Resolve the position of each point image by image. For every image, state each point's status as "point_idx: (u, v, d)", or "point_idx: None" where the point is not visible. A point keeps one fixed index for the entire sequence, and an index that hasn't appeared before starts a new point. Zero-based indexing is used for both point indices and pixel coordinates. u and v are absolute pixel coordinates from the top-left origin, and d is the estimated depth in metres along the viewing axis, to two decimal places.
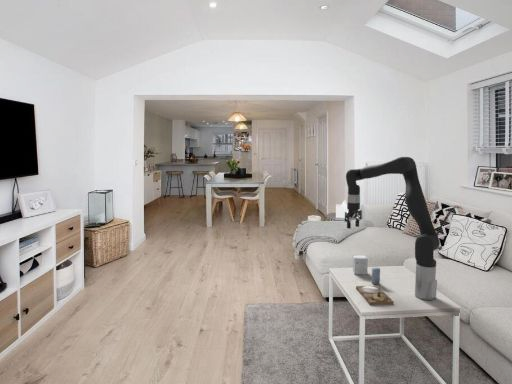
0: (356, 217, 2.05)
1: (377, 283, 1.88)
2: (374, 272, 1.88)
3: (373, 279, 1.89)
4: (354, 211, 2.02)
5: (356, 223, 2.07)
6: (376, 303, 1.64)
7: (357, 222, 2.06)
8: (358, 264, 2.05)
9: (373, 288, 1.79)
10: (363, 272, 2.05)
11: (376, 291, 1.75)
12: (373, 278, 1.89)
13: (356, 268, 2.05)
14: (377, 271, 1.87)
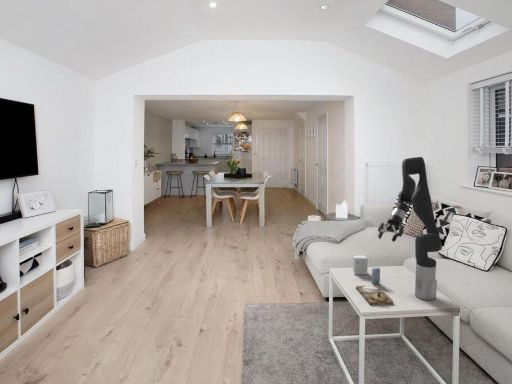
0: (394, 231, 1.93)
1: (377, 283, 1.88)
2: (374, 272, 1.88)
3: (373, 279, 1.89)
4: (391, 224, 1.97)
5: None
6: (376, 303, 1.64)
7: None
8: (358, 264, 2.05)
9: (373, 288, 1.79)
10: (363, 272, 2.05)
11: (376, 291, 1.75)
12: (373, 278, 1.89)
13: (356, 268, 2.05)
14: (377, 271, 1.87)
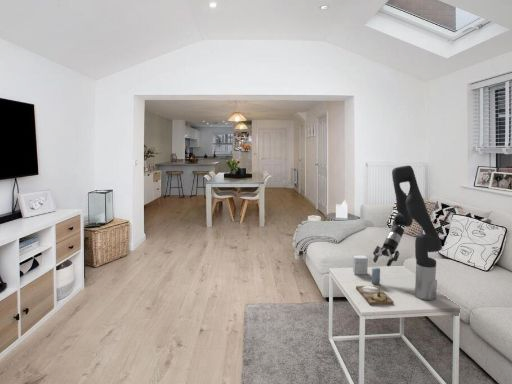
0: (389, 255, 1.92)
1: (377, 283, 1.88)
2: (374, 272, 1.88)
3: (373, 279, 1.89)
4: (386, 248, 1.96)
5: None
6: (376, 303, 1.64)
7: None
8: (358, 264, 2.05)
9: (373, 288, 1.79)
10: (363, 272, 2.05)
11: (376, 291, 1.75)
12: (373, 278, 1.89)
13: (356, 268, 2.05)
14: (377, 271, 1.87)
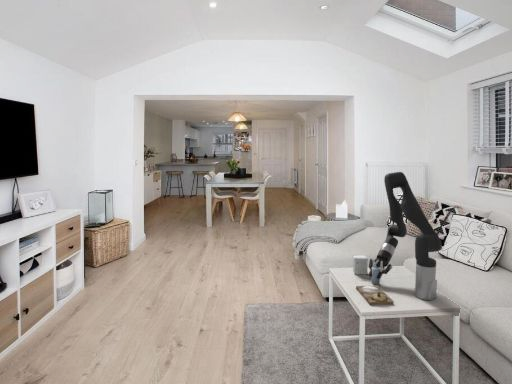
0: None
1: (377, 283, 1.88)
2: (374, 272, 1.88)
3: (373, 279, 1.89)
4: (380, 259, 1.93)
5: None
6: (376, 303, 1.64)
7: None
8: (358, 264, 2.05)
9: (373, 288, 1.79)
10: (363, 272, 2.05)
11: (376, 291, 1.75)
12: (373, 278, 1.89)
13: (356, 268, 2.05)
14: (377, 271, 1.87)
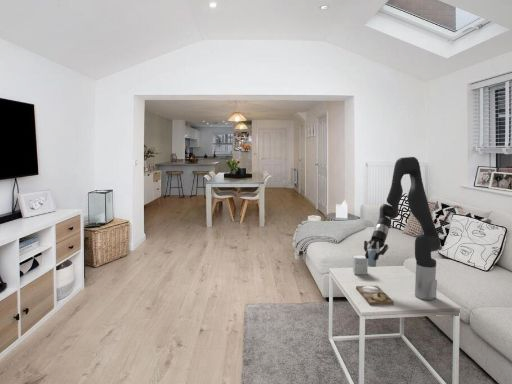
0: (377, 249, 1.83)
1: (374, 265, 1.82)
2: (371, 253, 1.81)
3: (370, 261, 1.82)
4: (375, 240, 1.86)
5: None
6: (376, 303, 1.64)
7: None
8: (358, 264, 2.05)
9: (373, 288, 1.79)
10: (363, 272, 2.05)
11: (376, 291, 1.75)
12: (370, 260, 1.82)
13: (356, 268, 2.05)
14: (374, 252, 1.81)
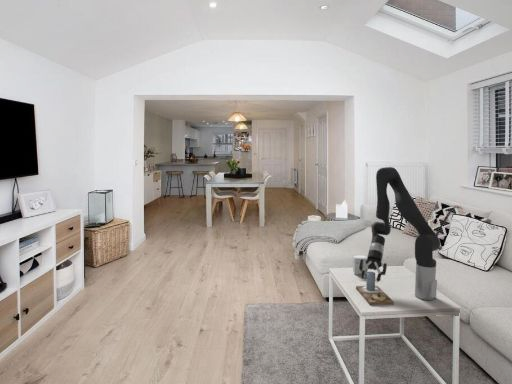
0: (377, 269, 1.78)
1: (373, 288, 1.76)
2: (370, 277, 1.75)
3: (369, 285, 1.76)
4: (372, 260, 1.81)
5: None
6: (376, 303, 1.64)
7: None
8: (358, 264, 2.05)
9: None
10: None
11: (376, 291, 1.75)
12: (369, 283, 1.76)
13: (356, 268, 2.05)
14: (373, 275, 1.75)
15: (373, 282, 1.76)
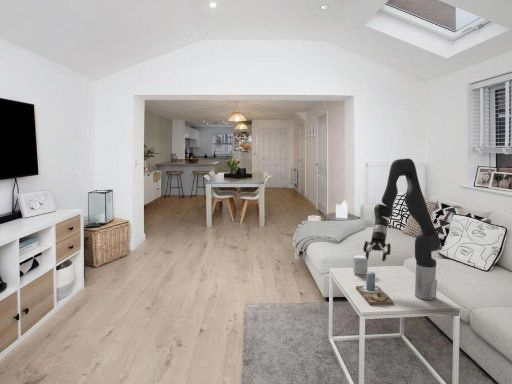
0: (381, 250, 1.84)
1: (373, 289, 1.76)
2: (370, 277, 1.75)
3: (369, 285, 1.76)
4: (376, 242, 1.88)
5: None
6: (376, 303, 1.64)
7: (383, 255, 1.82)
8: (358, 264, 2.05)
9: None
10: (363, 272, 2.05)
11: (376, 291, 1.75)
12: (369, 284, 1.76)
13: (356, 268, 2.05)
14: (373, 276, 1.75)
15: (373, 282, 1.75)
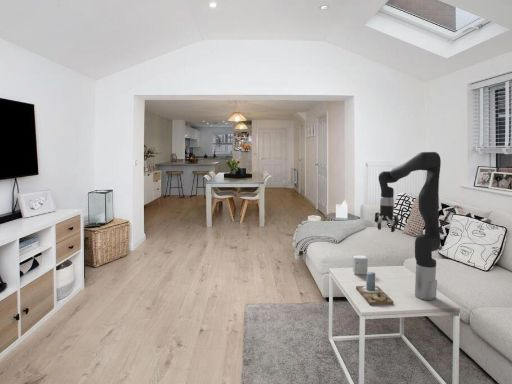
0: None
1: (373, 289, 1.76)
2: (370, 277, 1.75)
3: (369, 285, 1.76)
4: (384, 214, 1.99)
5: None
6: (376, 303, 1.64)
7: None
8: (358, 264, 2.05)
9: None
10: (363, 272, 2.05)
11: (376, 291, 1.75)
12: (369, 284, 1.76)
13: (356, 268, 2.05)
14: (373, 276, 1.75)
15: (373, 282, 1.75)
